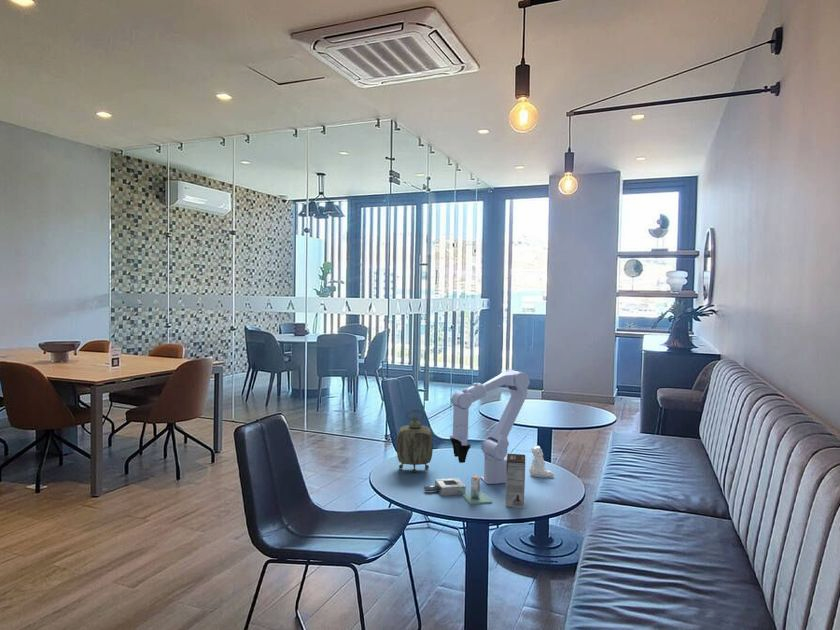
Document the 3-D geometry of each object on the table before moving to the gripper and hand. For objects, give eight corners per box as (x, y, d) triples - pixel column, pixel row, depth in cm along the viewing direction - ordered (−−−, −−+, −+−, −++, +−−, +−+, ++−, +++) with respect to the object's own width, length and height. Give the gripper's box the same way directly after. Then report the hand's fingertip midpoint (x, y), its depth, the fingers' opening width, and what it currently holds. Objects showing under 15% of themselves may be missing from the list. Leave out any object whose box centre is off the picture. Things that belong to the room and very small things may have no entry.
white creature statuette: (555, 477, 218) (556, 448, 217) (537, 480, 214) (538, 450, 213) (540, 470, 226) (541, 442, 226) (523, 473, 222) (524, 444, 222)
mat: (483, 494, 196) (484, 493, 196) (492, 503, 189) (492, 501, 189) (462, 496, 194) (462, 494, 194) (470, 504, 187) (470, 502, 187)
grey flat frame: (457, 485, 205) (458, 478, 205) (465, 494, 196) (465, 486, 196) (421, 487, 202) (422, 480, 202) (428, 496, 193) (428, 488, 193)
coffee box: (505, 497, 195) (507, 452, 194) (523, 498, 193) (525, 454, 193) (505, 506, 186) (506, 460, 185) (524, 508, 184) (525, 461, 184)
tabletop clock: (431, 467, 226) (432, 408, 225) (432, 475, 217) (434, 412, 216) (396, 467, 225) (397, 407, 224) (396, 474, 216) (397, 412, 215)
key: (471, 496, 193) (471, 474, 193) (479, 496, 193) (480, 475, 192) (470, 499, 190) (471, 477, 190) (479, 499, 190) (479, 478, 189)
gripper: (446, 419, 211) (445, 454, 212) (454, 428, 197) (453, 465, 197) (464, 419, 212) (463, 453, 213) (473, 428, 198) (472, 465, 199)
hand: (459, 459), depth 205 cm, fingers open, 7 cm apart
